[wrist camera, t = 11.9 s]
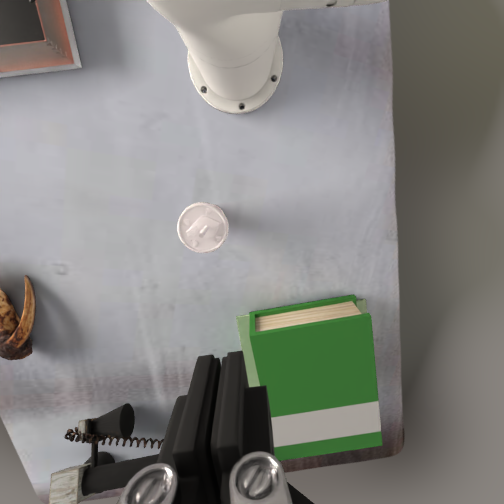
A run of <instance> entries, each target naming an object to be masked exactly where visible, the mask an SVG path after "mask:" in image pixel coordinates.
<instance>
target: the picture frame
mask: <svg viewBox="0 0 504 504" xmlns="http://www.w3.org/2000/svg"><path fill="white" fill-rule="evenodd" d="M78 68H82V66H81V62H80V58H79V53H78V49H77V45H76V40H75V36H74V32H73V27H72V23H71V19H70V14H69V10H68V5H67V1H66V0H0V78H2V77H11V76H19V75H27V74H36V73H44V72H53V71H61V70H70V69H78Z"/></svg>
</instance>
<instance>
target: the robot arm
mask: <svg viewBox="0 0 504 504" xmlns="http://www.w3.org/2000/svg"><path fill="white" fill-rule="evenodd" d="M146 1H147V2H148V3H149V4H150V5H151V6H152V7H153V8H154V9H155V10H156V11H158V12H159V13H160V14H161V15H162V16H163V17H165V18H166V19H167V20H168V21H170V22H171V23H172V24H174V25H175V27H176V28H177V30H178V32H179V34H180V35H181V37H182V39H183V41H184V43H185V45H186V47H187V49H188V67H189V72H190V76H191V79H192V81H193V84H194V86H195V88H196V89H197V91H198V92H199V94H200V95H201V96H202V98H203V99H204V100H205V101H206V102H207V103H209V104H210V105H211V106H212V107H214V108H216V109H218V110H219V111H222V112H226V113H230V114H243V113H247V112H251V111H253V110H255V109H257V108H259V107H261V106H262V105H263V104H264V103H265V102H266V101H268V99H269V98H270V97H271V96H272V94H273V93H274V91H275V89H276V87H277V86H278V83H279V81H280V77H281V73H282V69H283V53H282V46H281V43H280V39H279V37H278V33H279V28H280V23H281V18H282V13H283V10H299V9H317V8H335V7H347V6H359V5H368V4H375V3H380V2H384V1H387V0H146ZM273 78H274V79H275V82H273V81H272V79H273ZM204 89H206V93H203V90H204ZM240 106H244V108H243V109H241V108H240ZM117 504H314V503H313V502H311V501H310V500H309V499H308V498H306V497H305V496H304V495H303V494H301V493H300V492H299V491H298V490H296V489H295V488H294V487H293V486H291V485H290V484H289V483H288V482H287V481H286V478H285V473H284V470H283V467H282V465H281V463H280V461H279V460H278V459H277V458H276V457H275V454H274V442H273V430H272V420H271V411H270V404H269V398H268V391H267V386H266V385H264V386H256V387H249V383H248V377H247V372H246V366H245V360H244V355H243V351H237V352H229V353H228V355H227V357H223V359H222V365H221V364H220V359H219V358H214V355H206V356H199V357H198V359H197V362H196V366H195V369H194V373H193V377H192V381H191V384H190V388H189V392H188V395H185V396H179V397H178V398H177V400H176V403H175V406H174V409H173V412H172V415H171V419H170V422H169V425H168V428H167V431H166V435H165V438H164V441H163V444H162V447H161V451H160V454H159V457H158V460H157V463H156V464H152V465H150V466H147V467H145V468H143V469H142V470H141V471H139V472H138V473H136V474H135V475H134V476H133V478H132V479H131V480H130V481H129V482H128V484H127V485H126V487H125V489H124V490H123V492H122V494H121V496H120V498H119V500H118V502H117Z"/></svg>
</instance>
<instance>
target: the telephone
mask: <svg viewBox="0 0 504 504" xmlns="http://www.w3.org/2000/svg"><path fill="white" fill-rule="evenodd" d="M134 424H135V416H134V410H133V408H132V406H131V405H130V404H125V405H123V406H121V407H119V408H117V409H115V410H113V411H111V412H109V413H107V414H105V415H103V416H101V417H99V418H94V419H86V420H81V421H79V425H78V428H77V427H75V431H76V432H73V430H72V429H68V430H67V434H66V435H65V439H69V440H70V441H71V442H72V441H73V440H74V438H75V434H76V435H78V436H77V437H76V440H75V441H76V442H78V441H81V440H82V443H84V442H85V441H86V442H87V443H89V444H90V443H92V452H91V457H90V458H89V459H88V460H87V461H86V462H85V463H84V464H83V465H78V466H74V467H69V468H67V469H64V470H61V471H58V472H55V473H52V474H51V484H50V495H49V504H78V503H79V502H81V501H83V500H85V499H87V498H89V497H91V496H93V495H94V494H97V493H101V492H103V491H107V490H112V489H117V488H122V487H126V485H127V484H128V482H129V481H130V480H131V479H132V478H133V476H134V475H135V474H136V473H138V472H139V471H141V470H142V469H143V468H145V467H147V466H150V465H152V464H156V463H157V460H158V457H159V454H157V455H152V456H147V457H142V458H137V459H132V460H126V461H121V462H116V463H115V460H114V458H113V457H112V455H110V454H109V453H107V452H98V441H102V440H103V442H102V445H104V444H105V440H106V439H107V438H109V439H110V442H109V445H111V442H112V440H113V439H114V438H116V439H117V441H116V446H117V445H118V442H119V440H120V438H122V439H123V440H124V442H123V445H122V446H125V443H126V441H127V440H128V439H130V447H131V446H132V443H133V441H134V440H135V439H136V440H137V447H139V444H140V442H141V441H142V440H144V448H145V447H146V444H147V442H148V441H149V439H148V440H147V441H146V439H145V438H141V439H140V440H139V439H138V438H137V437H134V438H133V439H132V438H131V437H130V436H131V434H132V432H133V429H134ZM70 433H73V434H72V435H71V434H70ZM67 436H70V437H69V438H68V437H67ZM105 436H106V437H105ZM72 437H73V438H72ZM111 437H112V438H111ZM125 438H126V439H125ZM150 441H151V448H153V445H154V443H155V442H156V441H158V440H157V439H155V440H154V441H153V440H152V439H151V438H150ZM163 441H164V439H162V440H161V441H158V449H159V448H160V446H161V443H162V442H163Z"/></svg>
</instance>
